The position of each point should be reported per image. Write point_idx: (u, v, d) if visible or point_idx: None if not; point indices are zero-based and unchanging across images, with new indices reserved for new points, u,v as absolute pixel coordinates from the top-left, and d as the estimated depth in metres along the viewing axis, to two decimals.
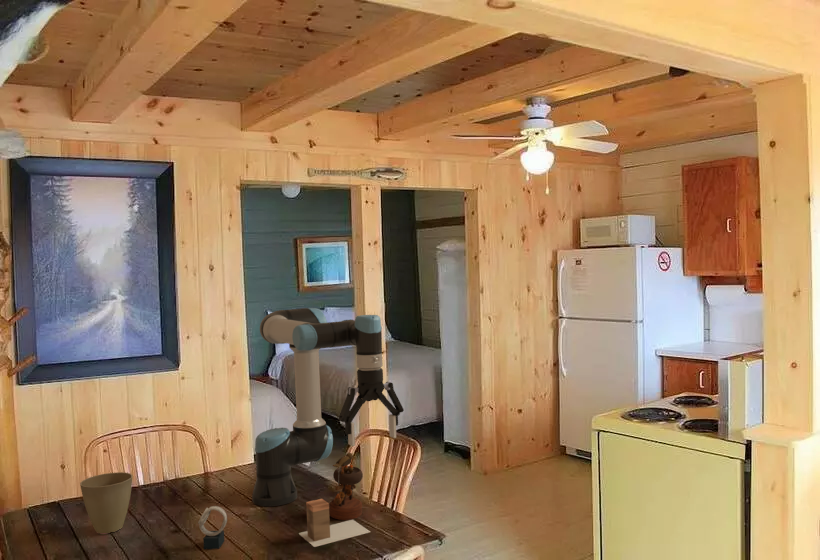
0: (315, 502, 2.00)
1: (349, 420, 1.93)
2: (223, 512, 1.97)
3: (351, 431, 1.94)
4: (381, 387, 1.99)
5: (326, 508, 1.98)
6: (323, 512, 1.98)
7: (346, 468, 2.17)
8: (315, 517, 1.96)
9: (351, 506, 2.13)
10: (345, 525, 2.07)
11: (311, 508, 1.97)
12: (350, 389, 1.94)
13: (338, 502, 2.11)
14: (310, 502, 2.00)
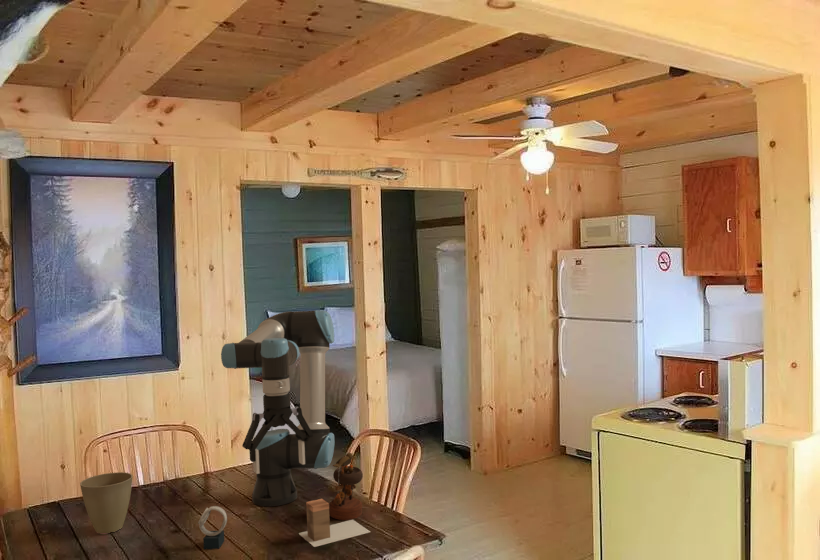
0: (315, 502, 2.00)
1: (253, 447, 1.88)
2: (223, 512, 1.97)
3: (255, 458, 1.88)
4: (288, 412, 1.93)
5: (326, 508, 1.98)
6: (323, 512, 1.98)
7: (346, 468, 2.17)
8: (315, 517, 1.96)
9: (351, 506, 2.13)
10: (345, 525, 2.07)
11: (311, 508, 1.97)
12: (254, 415, 1.89)
13: (338, 502, 2.11)
14: (310, 502, 2.00)
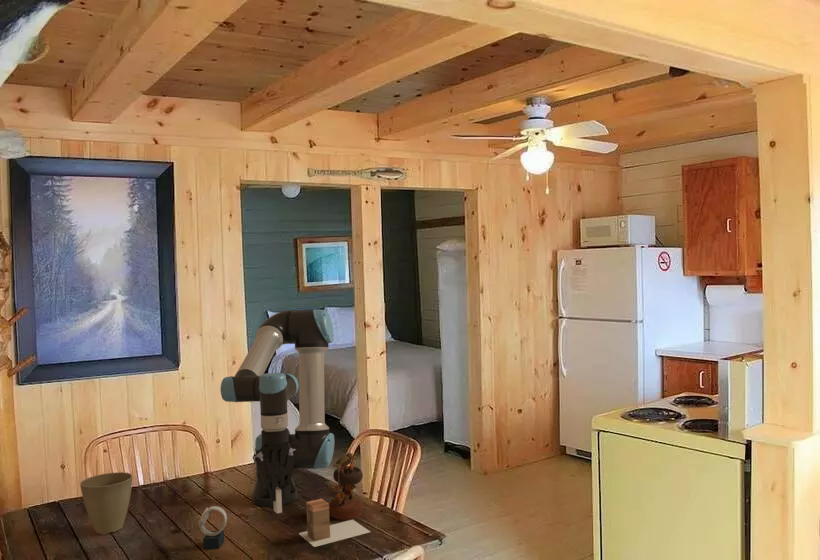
0: (315, 502, 2.00)
1: (273, 488, 1.91)
2: (223, 512, 1.97)
3: (276, 498, 1.91)
4: (286, 447, 1.93)
5: (326, 508, 1.98)
6: (323, 512, 1.98)
7: (346, 468, 2.17)
8: (315, 517, 1.96)
9: (351, 506, 2.13)
10: (345, 525, 2.07)
11: (311, 508, 1.97)
12: (254, 459, 1.89)
13: (338, 502, 2.11)
14: (310, 502, 2.00)
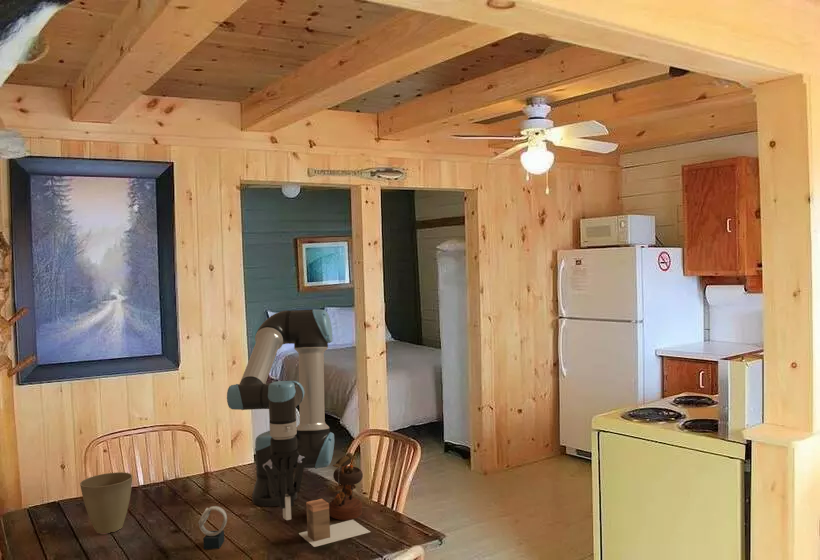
0: (315, 502, 2.00)
1: (282, 495, 1.92)
2: (223, 512, 1.97)
3: (285, 505, 1.93)
4: (295, 455, 1.95)
5: (326, 508, 1.98)
6: (323, 512, 1.98)
7: (346, 468, 2.17)
8: (315, 517, 1.96)
9: (351, 506, 2.13)
10: (345, 525, 2.07)
11: (311, 508, 1.97)
12: (264, 467, 1.90)
13: (338, 502, 2.11)
14: (310, 502, 2.00)
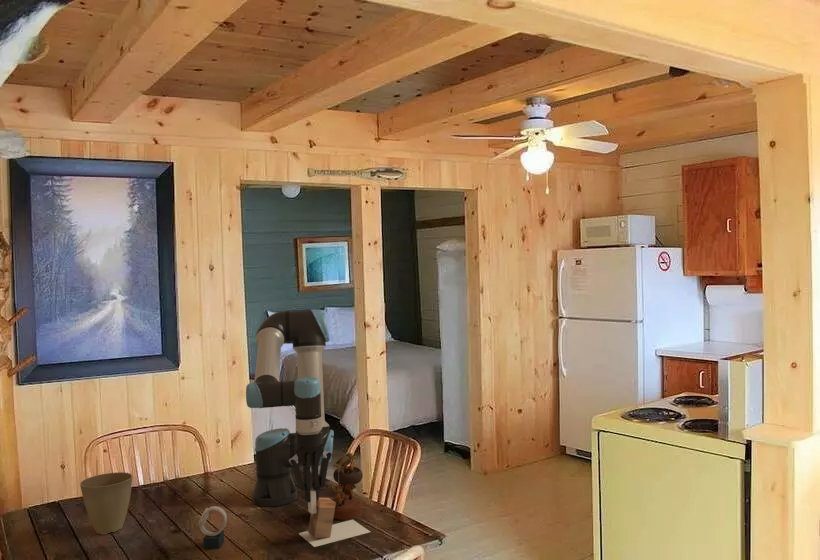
0: (322, 499, 2.01)
1: (308, 489, 1.96)
2: (223, 512, 1.97)
3: (310, 499, 1.97)
4: (320, 450, 1.99)
5: (332, 507, 1.99)
6: (329, 510, 1.98)
7: (346, 468, 2.17)
8: (320, 513, 1.97)
9: (351, 506, 2.13)
10: (345, 525, 2.07)
11: (318, 503, 1.98)
12: (290, 462, 1.94)
13: (338, 502, 2.11)
14: None
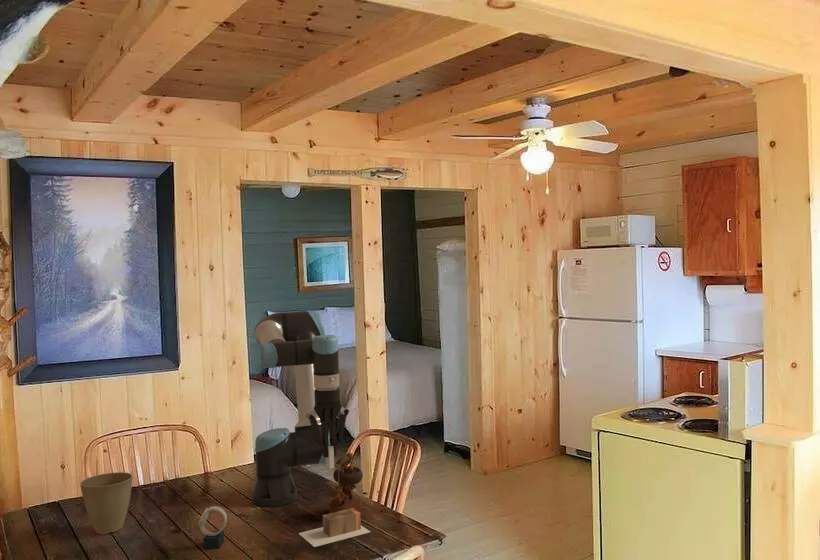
0: None
1: (326, 444, 1.99)
2: (223, 512, 1.97)
3: (328, 454, 2.00)
4: (338, 406, 2.02)
5: (356, 527, 2.03)
6: (353, 525, 2.03)
7: (346, 468, 2.17)
8: (350, 517, 2.02)
9: (351, 506, 2.13)
10: None
11: (356, 512, 2.04)
12: (309, 417, 1.97)
13: (338, 502, 2.11)
14: None
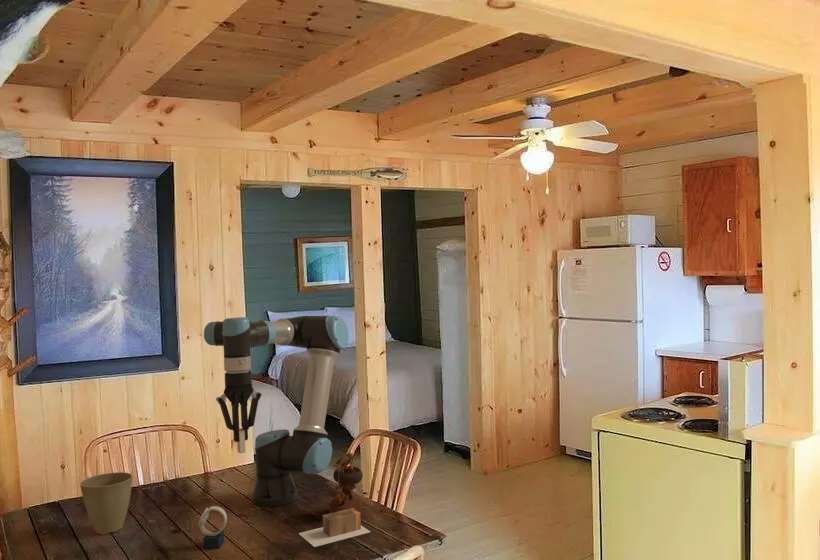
0: None
1: (236, 428, 1.96)
2: (223, 512, 1.97)
3: (239, 439, 1.96)
4: (250, 390, 1.98)
5: (356, 527, 2.03)
6: (353, 525, 2.03)
7: (346, 468, 2.17)
8: (350, 517, 2.02)
9: (351, 506, 2.13)
10: None
11: (356, 512, 2.04)
12: (218, 400, 1.94)
13: (338, 502, 2.11)
14: None
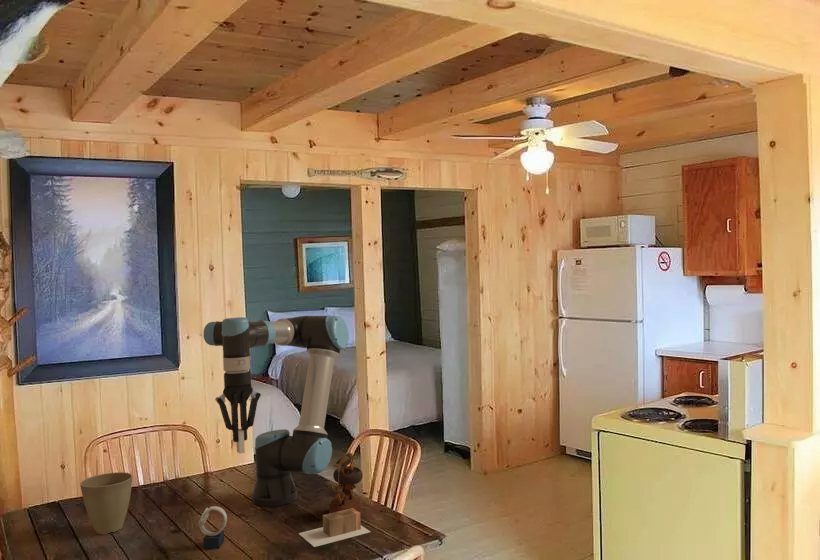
0: None
1: (235, 428, 1.96)
2: (223, 512, 1.97)
3: (238, 439, 1.96)
4: (249, 390, 1.98)
5: (356, 527, 2.03)
6: (353, 525, 2.03)
7: (346, 468, 2.17)
8: (350, 517, 2.02)
9: (351, 506, 2.13)
10: None
11: (356, 512, 2.04)
12: (217, 401, 1.94)
13: (338, 502, 2.11)
14: None
